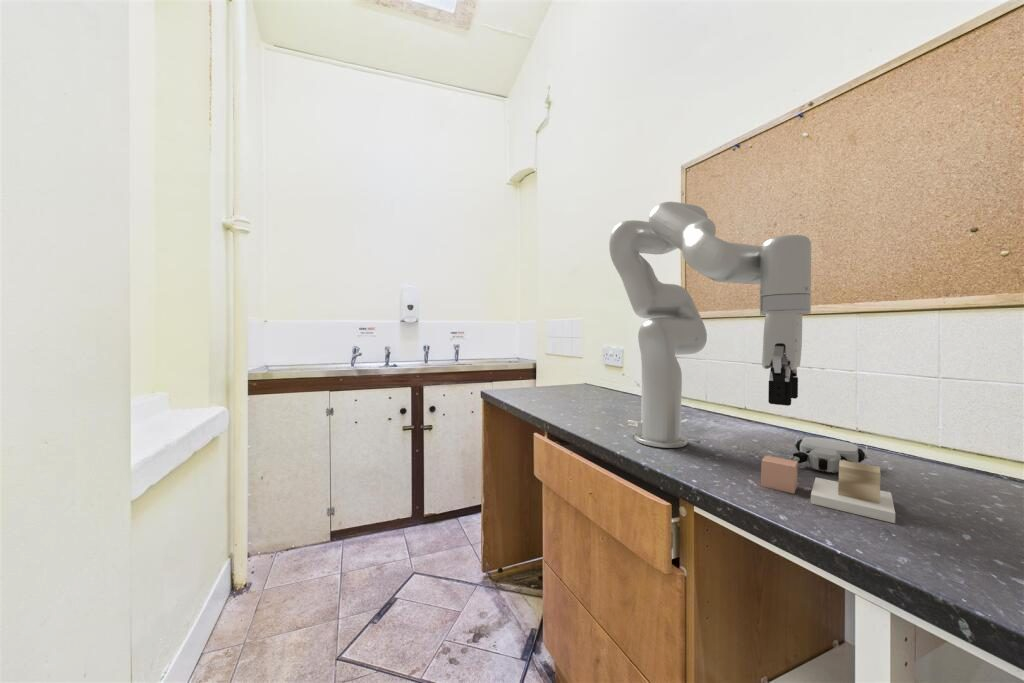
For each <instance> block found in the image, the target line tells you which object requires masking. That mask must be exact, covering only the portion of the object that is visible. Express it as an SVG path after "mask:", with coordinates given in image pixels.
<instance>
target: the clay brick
mask: <svg viewBox="0 0 1024 683" xmlns="http://www.w3.org/2000/svg"><path fill="white" fill-rule="evenodd" d="M760 464H761V465H760V466H761V469H760V472H761V473H760V474H761V475H760V487H763V488H768V489H773V490H777V491H780V492H781V491H782V492H786V493H789V494H790V493H791V494H795V492H796V490H797V488H798V465H799V463H798V461H793V460H789V458H788V459H786V458H783V457H776V456H770V455H766V454H765V455H764V457H763V458H762V459H761V462H760Z"/></svg>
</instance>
